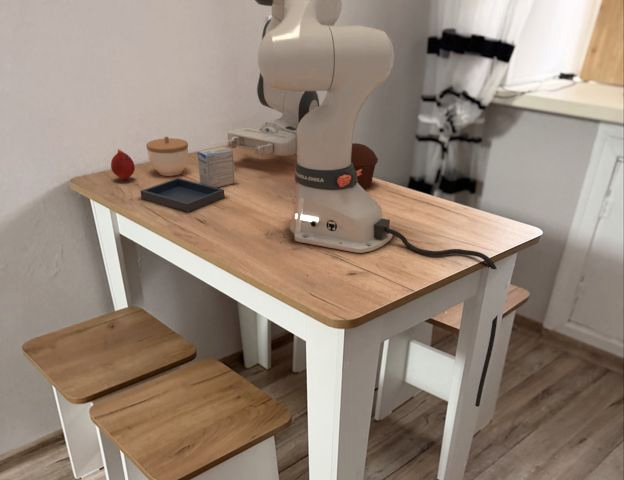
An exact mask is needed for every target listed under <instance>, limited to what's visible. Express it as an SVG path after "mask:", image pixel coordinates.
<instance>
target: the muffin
mask: <svg viewBox="0 0 624 480" xmlns="http://www.w3.org/2000/svg"><path fill="white" fill-rule="evenodd" d="M351 162H352V164H353V167H354V169H355V171H358V170H360V169H362V171H361V172H360V173H362V174H361V175H359V176H357V180H358V182H357V183H358V184H359V185H360V186H361V187H362V188H363V189H364V190H366V189H370V188H371V186H372V182H373V177H374V173H375V169H376V165H377V163H378V162H379V158H378V157H377V155H376V153H375V152H374V150H373V149H371V148H370V147H368V146H367V145H366V144H364V143H363V144H362V143H358V142H355V143H353V142H352V152H351ZM360 173H359V174H360Z"/></svg>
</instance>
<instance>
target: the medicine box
mask: <svg viewBox="0 0 624 480" xmlns="http://www.w3.org/2000/svg"><path fill="white" fill-rule="evenodd" d="M197 162H198V163H197V164H198V176H199V183H200V184H204V185H208V186H212V187H215V188H220V187H225V186H229V185H232V184H233V185H234V184H235V183H236V180H235V165H234V162H235V161H234V151H233V150H232V149H231V148H229V147H225V146H219V147H214V148H209V149H204V150H199V151H197Z"/></svg>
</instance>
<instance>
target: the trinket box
mask: <svg viewBox="0 0 624 480" xmlns="http://www.w3.org/2000/svg"><path fill="white" fill-rule="evenodd" d="M145 146H146V150H147V156H148V159H149V162H150V164H151V166H152V168H153V169H154V170H155V171H156V172H158V174H159V175H160V176H164V177H173V176H178V175H180V174H182V173H183V171H184V170H185V168H186V167H187V164H188V160H189V148H188V147H189V143H188V141H187V140H184V139H182V138H174V137H173V138H171V137H170V138H169V136H164V137H163V138H158V139H153V140H150V141H148V142H147V143H146V145H145Z"/></svg>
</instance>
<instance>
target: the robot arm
mask: <svg viewBox="0 0 624 480" xmlns="http://www.w3.org/2000/svg"><path fill="white" fill-rule="evenodd" d="M254 1H255V2H256V3H257V4H258V5H260V6H266V7H270V10H271V18H269V19H268V20H267V21H266V23H265V24H264V26H263V30H262V35H261V41H260V43H259V47H258V51H257V66H258V69H259V77H258V81H257V84H256V85H257V86H256V95H257V98H258V100H259V102H260V104H261V105H262V106H264V107H267V108H269V109H271V110H275V111H277V112H278V113H281V114H282V115H281V117H279V118H275V119H272V120H269V121H266V122H264V123H263V124H262V125H261V126H260V128H259V129H257V128H256V129H255V128H251V127H238V128H235V129H230V130H229V131H228V132H227V148H228V149H235V148H237V147H239V148H243V149H247V150H251V151H254V153H255V154H257V155H263V154H270V155H275V156H279V157H290V156H292V155H297V156H296V161H295V163H294V164H295V165H294V181H295V185H296V189H295V200H294V206H293V213H292V216H291V220H290V221H291V222H290V224H289V230H290V232H291V233H292V234H293V236H294V237H293V240H294V241H295V242H298V243H302V244H309V245H313V246H319V247H324V248H329V249H334V250H341V251H346V252H351V253H352V252H353V253H356V254H364V253H368V252H372V251H375V250H377V249H379V248H382V247H383V246H384V245H386V244H387V243H388V242H390V241H391V240H392V239H393V236H395V237H397V238H398V239H399V240H400V241H401V242H402V243H403V245H404V246H405V247H406V248H408V249H409V250H411V251H413V252H414V253H416V254H421V255H425V256H430V257H431V256H433V257H440V256H447V255H464V256H465V255H466V256H472V257H477V258H479V259H481V260H483V261H484V262H485V263H486V264H487V265H488V267H489V268H490V269H492V270H498V268H497V265H496V264H495V263H494V262H493V260H492V259H491V258H490V257H489V256H488V255H486V254H484V253H482V252H480V251H476V250H469V249H462V248H450V249H443V250H429V249H423V248H419V247H416V246H415V245H413V244H412V243H410V242H409V241H408V240H407V237H406V236H404V235H403V233H400V232H399V231H397V230H394V229H393V228H392V227H390V224H391V220H390V219H386V218H384V217H383V210H382V207H381V206H380V204H379V202H377V201H376V200H375V199H374V198H373V197H372V196H371V195H370V194H369V193H368V192H367V191H366V189H363V188H362V187H361V186H360V185H359V184H358V183H357V182H358V180H357V176H359V175H361V174H362V173H360V172H361V171H362V169H360V170H358V171H355V169H354V167H353V164H352V162H351V152H352V143H353V142H354V141H353V140H354V134H355V133H354V131H355V126H356V122H357V119H358V116H359V114H360V112H361V110H362V107H363V106H364V104H365V103H366V101H367V100H368V99H369V97H370V96H371V95H372V93H374V92H375V91H376V90H377V89H378V88H379V87H381V86H382V85H383V84H384V83H385V82H386V80H387V79H388V78H389V76H390V74H391V72H392V70H393V66H394V60H395V52H394V46H393V43H392V41H391V38H390V37H389V35H388V34H387V33H386V32H385V31H384V30H382V29H378V28H375V27H370V26H365V25H360V24H359V25H336V23H337V21H338V20H339V19H340V16H341V13H342V9H343V0H254ZM318 92H326V93H325V97H324V99H323V101H322V102H321V103H320V98H319V95H318ZM359 173H360V174H359ZM498 316H499V315H498V314H497V315H496V316H495V317H493V320H492V321H491V327H490V329H491V330H490V334H489V341H488V345H487V350H486V355H485V359H484V363H483V366H482V372H481V376H480V379H479V380H480V381H479V384H478V388H477V393H476V399H475V405H474V406H475V407H477V408H478V407H480V405H481V400H482V396H483V395H482V394H483V390H484V385H485V380H486V378H487V373H488V369H489V364H490V362H491V356H492V354H493V353H492V352H493V348H494V344H495V343H494V342H495V337H496V331H497V325H498Z"/></svg>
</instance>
